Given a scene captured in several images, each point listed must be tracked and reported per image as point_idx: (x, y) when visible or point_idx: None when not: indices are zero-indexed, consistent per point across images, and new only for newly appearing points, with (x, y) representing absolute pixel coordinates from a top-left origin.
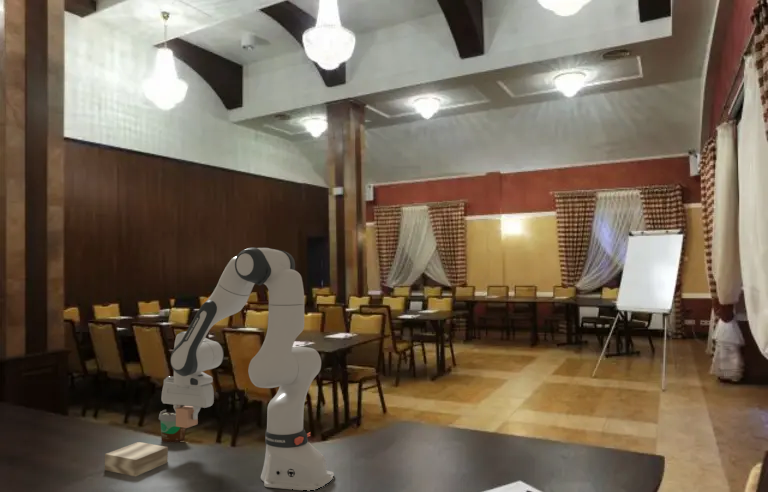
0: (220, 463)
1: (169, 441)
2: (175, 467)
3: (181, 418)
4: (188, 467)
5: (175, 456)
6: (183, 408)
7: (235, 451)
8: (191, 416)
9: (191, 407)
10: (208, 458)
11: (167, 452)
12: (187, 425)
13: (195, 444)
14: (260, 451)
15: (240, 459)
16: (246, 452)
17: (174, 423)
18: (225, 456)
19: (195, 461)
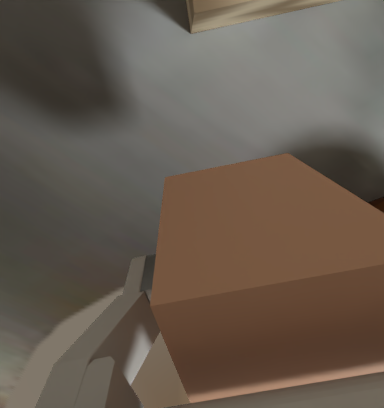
0: (13, 169)
1: (373, 203)
2: (98, 10)
3: (246, 197)
4: (53, 53)
5: (227, 115)
6: (302, 317)
7: (98, 264)
8: None
9: (233, 384)
10: (100, 177)
11: (192, 19)
12: (164, 187)
13: None
14: (43, 298)
15: (10, 231)
16: (64, 275)
17: None
18: (75, 222)
19: (105, 126)
